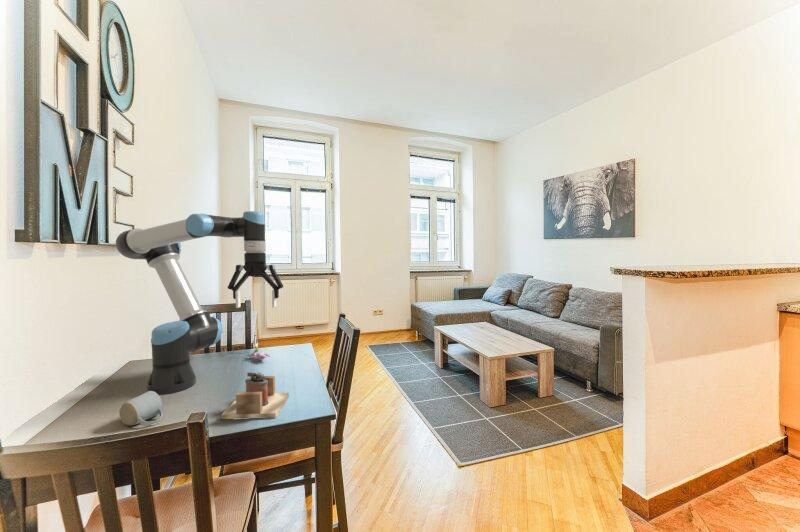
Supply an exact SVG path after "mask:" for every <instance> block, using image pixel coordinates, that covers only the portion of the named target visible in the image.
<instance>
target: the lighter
mask: <svg viewBox="0 0 800 532" xmlns="http://www.w3.org/2000/svg"><path fill="white" fill-rule="evenodd" d="M246 373H247V374H246V375H247V377H248V378H245V380H244V382H245V392H261V391H262V406H266V405H268V390H267V384H268V380H265V379H264V376H265V374H264V373H261V372H260V371H257V372H254V371H248V372H246Z"/></svg>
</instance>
